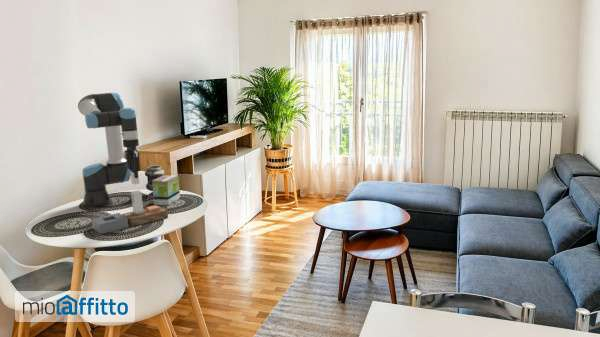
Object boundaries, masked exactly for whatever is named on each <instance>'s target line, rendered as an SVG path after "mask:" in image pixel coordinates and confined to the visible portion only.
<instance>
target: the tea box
mask: <svg viewBox="0 0 600 337" xmlns="http://www.w3.org/2000/svg"><path fill="white" fill-rule="evenodd" d="M152 185H153V191H152V192H153V196H152V197H153V206H154V205H156V206H170V205H171V204H172V203H174V202H177V201H178V200H180V199H181V192H180V191H181V190H180V179H179V175H173V174H172V175H167V174H164V175H163V176H161V177H159V178H157V179H155V180H153V181H152ZM179 198H180V199H179Z"/></svg>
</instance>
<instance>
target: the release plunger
mask: <svg viewBox="0 0 600 337" xmlns="http://www.w3.org/2000/svg"><path fill="white" fill-rule="evenodd" d="M158 206H159V205H154V204H153V205H151V206H146V208H145V209H147V211H148V212H150V213H151V212H155V211H159V207H158Z"/></svg>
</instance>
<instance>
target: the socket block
mask: <svg viewBox="0 0 600 337" xmlns="http://www.w3.org/2000/svg"><path fill="white" fill-rule="evenodd" d="M157 206H158V207H159V211H155V212H151V213H150V212H148V211H147V209H146V208H143V212H144V214H142V215H138V216H134V215H133V211H130V212H125V213H122V215H123V216H125V217H127V219H128V226H129V227H135V226H140V225H143V224H148V223H151V222H155V221H156V222H157V221H160V220H164V219H167V218H169V212H168V211H169V210H168V209H165V208H164V207H161V205H157Z"/></svg>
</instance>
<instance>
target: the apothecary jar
mask: <svg viewBox="0 0 600 337" xmlns="http://www.w3.org/2000/svg"><path fill="white" fill-rule="evenodd" d="M163 175H165V170H164V169H162V166H161V165H159V164H158V165H156V164H155V165H149V166H147V167H146V171H145V172H144V176H145V177H147V178H146V179H147V183H146V184H145V188H146V190H148V191H149V192H150V193H148V196H149V197H153V185H152V181H153V180H155V179H157V178H159V177H161V176H163Z"/></svg>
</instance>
